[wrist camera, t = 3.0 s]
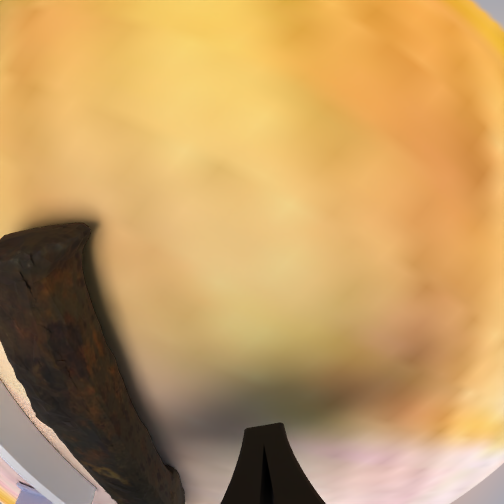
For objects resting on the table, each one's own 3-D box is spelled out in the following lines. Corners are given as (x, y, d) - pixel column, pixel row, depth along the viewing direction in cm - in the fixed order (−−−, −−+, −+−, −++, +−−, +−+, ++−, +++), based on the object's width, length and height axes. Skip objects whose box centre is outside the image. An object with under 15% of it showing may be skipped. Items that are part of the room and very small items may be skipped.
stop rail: (76, 484, 14) (66, 513, 11) (-58, 299, 9) (-90, 325, 6) (96, 488, 14) (87, 518, 11) (-45, 294, 9) (-81, 322, 6)
